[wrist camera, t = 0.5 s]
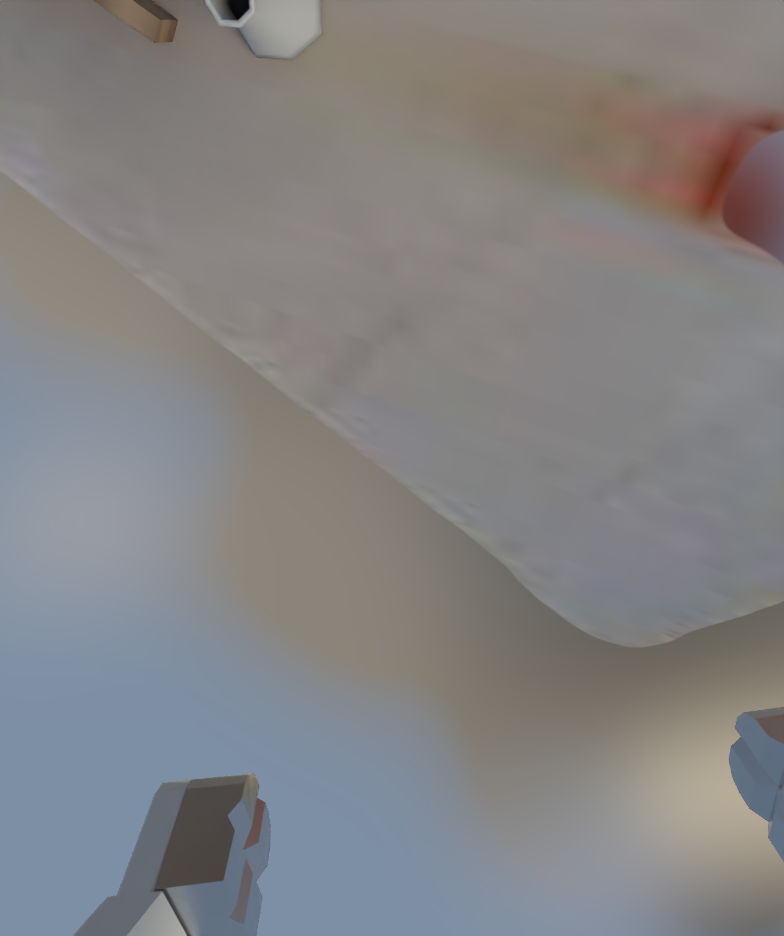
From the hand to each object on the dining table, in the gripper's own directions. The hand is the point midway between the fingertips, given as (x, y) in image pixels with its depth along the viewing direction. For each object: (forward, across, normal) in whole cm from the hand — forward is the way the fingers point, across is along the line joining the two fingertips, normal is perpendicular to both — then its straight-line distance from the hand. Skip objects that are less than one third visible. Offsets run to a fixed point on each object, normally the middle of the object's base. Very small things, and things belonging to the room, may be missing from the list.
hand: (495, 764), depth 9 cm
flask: (+44, +6, -24) cm, 51 cm away
